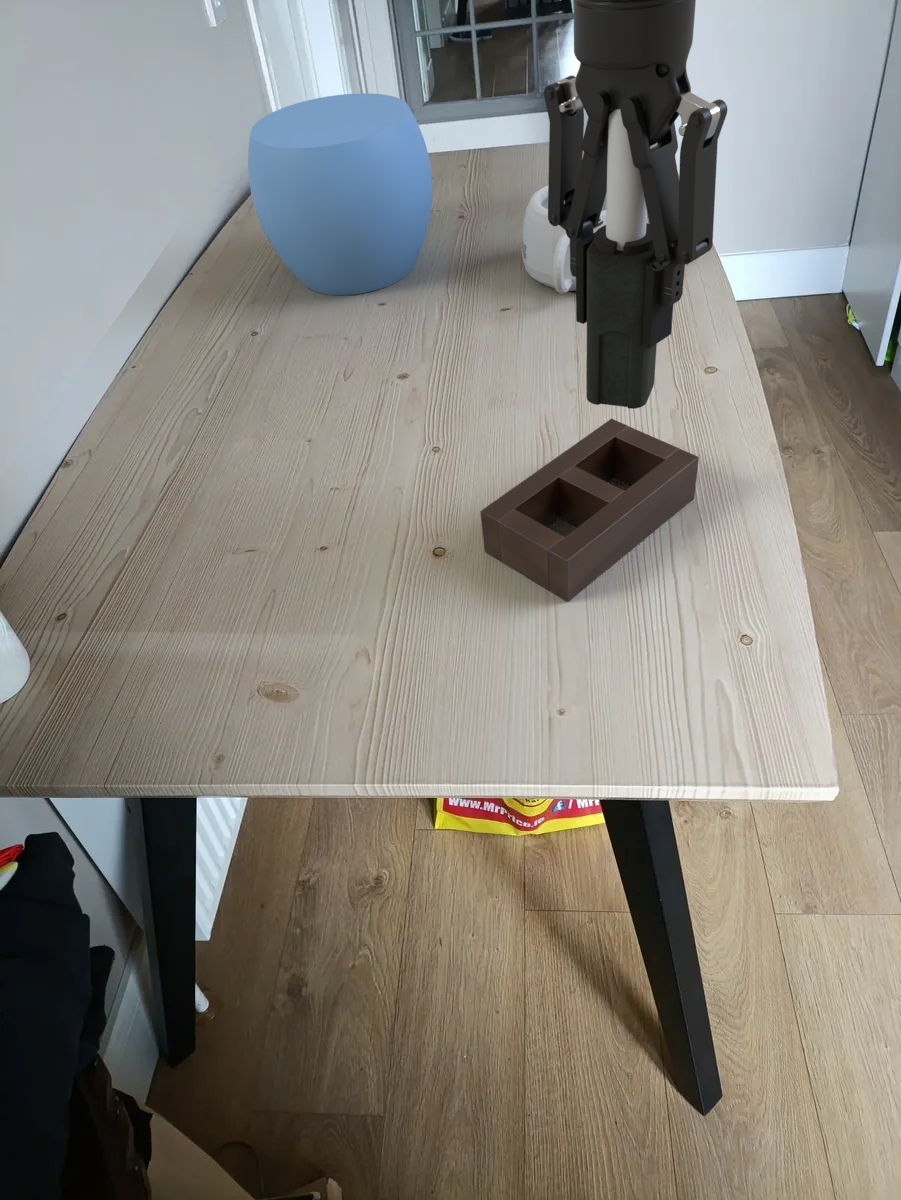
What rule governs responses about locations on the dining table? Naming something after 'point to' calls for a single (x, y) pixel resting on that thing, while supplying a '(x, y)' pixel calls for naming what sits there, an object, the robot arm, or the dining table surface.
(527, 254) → the mug
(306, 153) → the blue rounded stool
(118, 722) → the dining table surface
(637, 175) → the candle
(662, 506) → the rack
